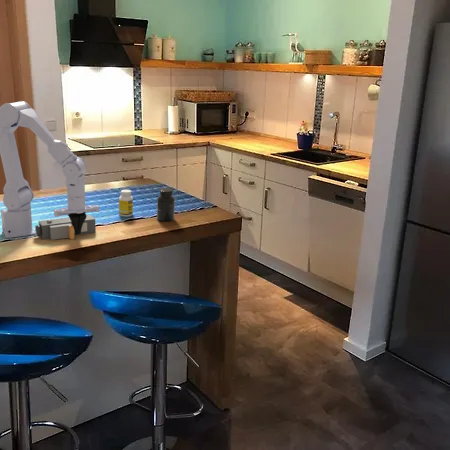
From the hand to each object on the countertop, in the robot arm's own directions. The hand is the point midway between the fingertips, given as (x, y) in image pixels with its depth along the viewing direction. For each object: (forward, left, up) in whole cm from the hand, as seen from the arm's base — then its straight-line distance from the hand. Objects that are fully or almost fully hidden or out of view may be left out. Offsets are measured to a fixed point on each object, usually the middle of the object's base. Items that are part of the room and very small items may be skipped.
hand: (77, 233), depth 170 cm
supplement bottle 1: (+24, +18, -2) cm, 30 cm away
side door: (-5, +1, -1) cm, 5 cm away
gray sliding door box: (-2, +6, -2) cm, 6 cm away
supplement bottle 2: (+36, +7, -2) cm, 37 cm away
